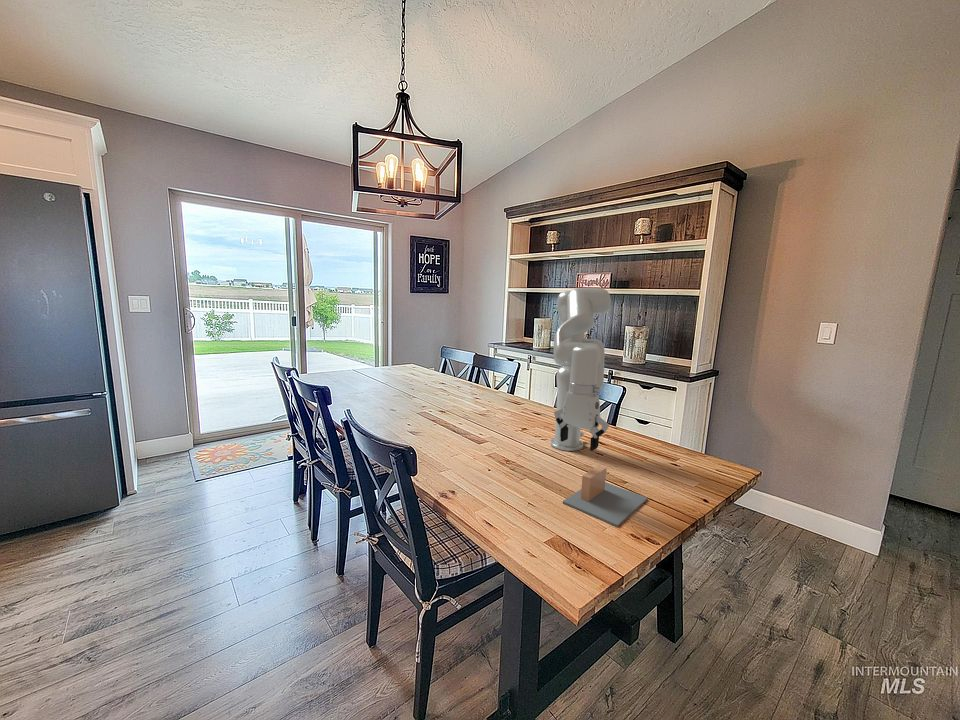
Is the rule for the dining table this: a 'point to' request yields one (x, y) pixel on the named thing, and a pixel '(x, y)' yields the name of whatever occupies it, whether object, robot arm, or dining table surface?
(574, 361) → the robot arm
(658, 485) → the dining table surface
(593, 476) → the terracotta tile
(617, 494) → the rubber mat
